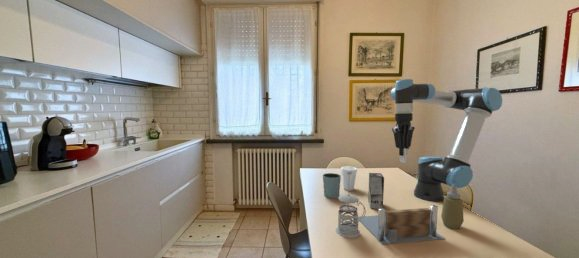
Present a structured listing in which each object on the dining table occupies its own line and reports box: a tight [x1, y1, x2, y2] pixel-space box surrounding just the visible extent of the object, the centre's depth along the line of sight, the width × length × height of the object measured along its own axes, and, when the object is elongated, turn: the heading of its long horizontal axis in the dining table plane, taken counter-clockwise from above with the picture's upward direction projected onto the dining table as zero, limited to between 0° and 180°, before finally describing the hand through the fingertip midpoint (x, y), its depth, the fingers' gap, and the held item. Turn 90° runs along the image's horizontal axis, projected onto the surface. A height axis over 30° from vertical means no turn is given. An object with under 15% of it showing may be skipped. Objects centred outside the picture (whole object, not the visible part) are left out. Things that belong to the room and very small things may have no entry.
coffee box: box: [368, 172, 385, 210], centre depth 127 cm, size 9×6×16 cm
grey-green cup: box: [322, 172, 342, 199], centre depth 141 cm, size 10×10×12 cm
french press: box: [335, 171, 367, 239], centre depth 99 cm, size 10×12×25 cm
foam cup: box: [340, 165, 358, 191], centre depth 154 cm, size 10×9×13 cm
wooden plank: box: [385, 207, 431, 239], centre depth 95 cm, size 18×2×10 cm, turn 99°
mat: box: [358, 214, 446, 245], centre depth 104 cm, size 26×23×1 cm
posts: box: [376, 204, 439, 243], centre depth 94 cm, size 24×4×12 cm, turn 99°
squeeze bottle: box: [440, 185, 465, 230], centre depth 104 cm, size 8×8×18 cm
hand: (403, 161), depth 118 cm, fingers closed
